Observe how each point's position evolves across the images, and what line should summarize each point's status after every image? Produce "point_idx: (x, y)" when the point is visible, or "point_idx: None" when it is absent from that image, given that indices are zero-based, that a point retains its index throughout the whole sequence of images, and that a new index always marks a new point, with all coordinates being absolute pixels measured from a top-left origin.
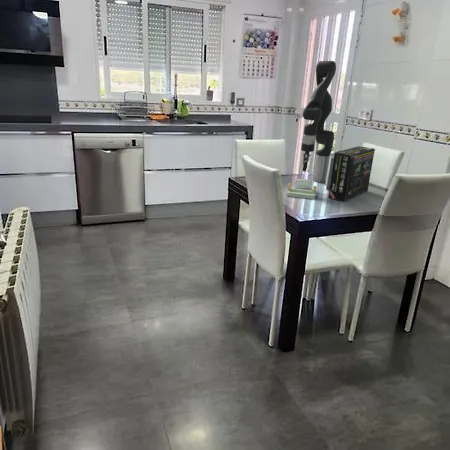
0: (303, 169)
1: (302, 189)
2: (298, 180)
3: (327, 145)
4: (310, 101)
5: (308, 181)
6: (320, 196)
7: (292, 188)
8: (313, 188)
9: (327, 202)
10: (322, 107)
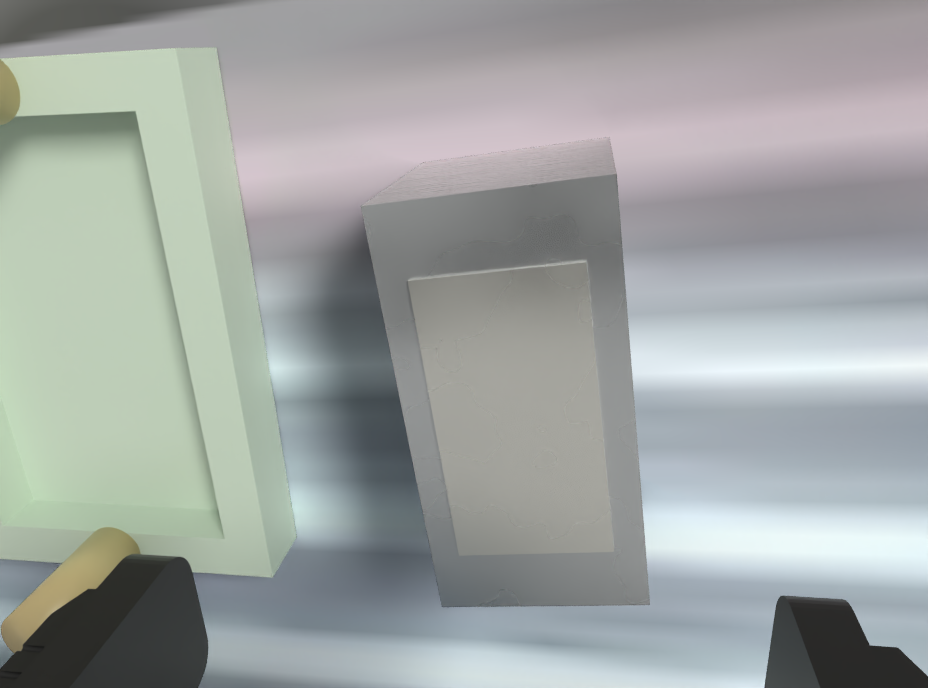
0: (45, 628)
1: (231, 355)
2: (388, 286)
3: None
4: None
5: (426, 528)
6: (230, 601)
7: (175, 142)
8: (38, 588)
9: (4, 660)
10: None
